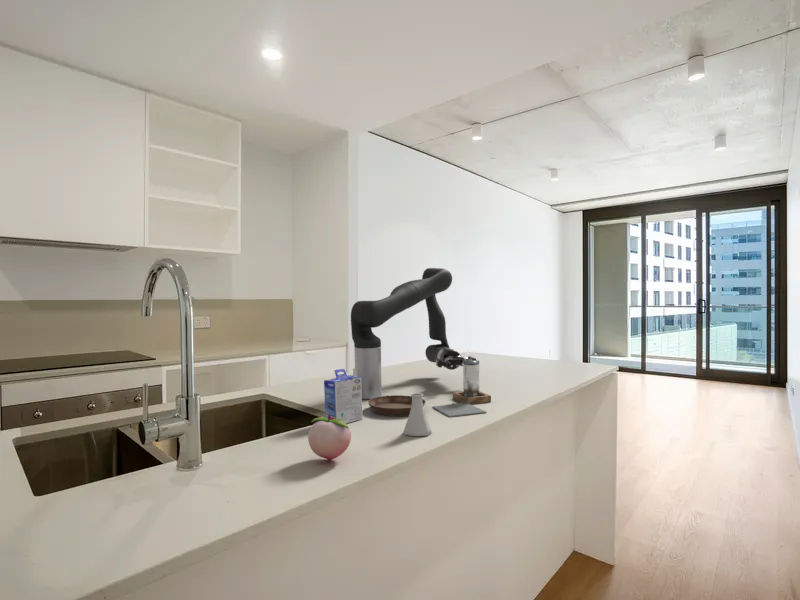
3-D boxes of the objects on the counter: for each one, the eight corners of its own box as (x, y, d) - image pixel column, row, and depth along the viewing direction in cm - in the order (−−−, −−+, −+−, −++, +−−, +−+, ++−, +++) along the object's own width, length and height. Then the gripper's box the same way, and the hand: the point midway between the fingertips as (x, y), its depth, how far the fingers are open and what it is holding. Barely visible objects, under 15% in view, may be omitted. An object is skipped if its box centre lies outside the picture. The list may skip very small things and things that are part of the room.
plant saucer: (404, 401, 153) (404, 392, 153) (437, 412, 139) (437, 402, 139) (357, 409, 144) (357, 399, 144) (388, 422, 129) (388, 411, 129)
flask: (432, 429, 121) (431, 391, 121) (431, 437, 114) (430, 397, 114) (404, 428, 122) (404, 391, 121) (402, 437, 114) (401, 397, 114)
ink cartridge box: (350, 416, 135) (350, 366, 135) (363, 419, 131) (362, 368, 131) (323, 423, 128) (322, 371, 127) (336, 427, 124) (335, 373, 124)
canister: (468, 402, 149) (467, 362, 149) (460, 399, 154) (460, 360, 154) (482, 401, 151) (482, 361, 151) (474, 397, 156) (474, 359, 156)
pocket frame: (465, 404, 146) (465, 398, 146) (452, 398, 155) (452, 392, 155) (491, 401, 150) (490, 395, 150) (476, 396, 158) (476, 390, 158)
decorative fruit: (300, 466, 96) (299, 418, 96) (317, 452, 104) (316, 408, 104) (342, 470, 94) (341, 421, 93) (356, 456, 101) (355, 411, 101)
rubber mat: (449, 417, 132) (449, 415, 132) (432, 407, 143) (432, 406, 143) (486, 413, 136) (486, 411, 136) (466, 403, 147) (466, 402, 147)
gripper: (430, 349, 178) (442, 355, 162) (466, 347, 180) (480, 353, 165) (431, 368, 178) (442, 376, 162) (466, 366, 181) (481, 374, 165)
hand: (461, 365), depth 163 cm, fingers open, 8 cm apart
